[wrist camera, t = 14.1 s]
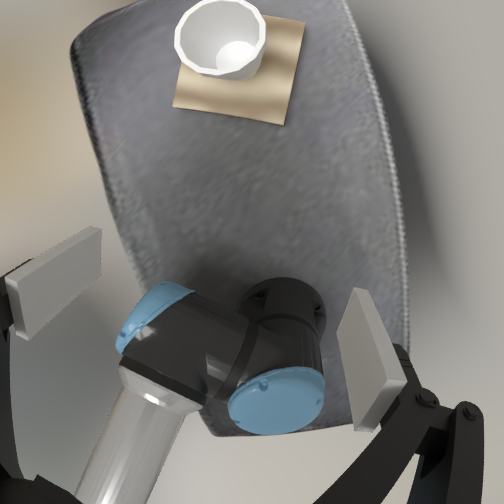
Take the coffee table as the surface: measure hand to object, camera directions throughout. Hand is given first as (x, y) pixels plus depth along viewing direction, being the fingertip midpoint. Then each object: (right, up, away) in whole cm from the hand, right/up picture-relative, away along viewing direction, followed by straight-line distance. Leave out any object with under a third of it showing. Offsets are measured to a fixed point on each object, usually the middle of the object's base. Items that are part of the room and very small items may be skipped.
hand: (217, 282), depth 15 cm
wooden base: (0, +29, +26) cm, 39 cm away
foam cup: (0, +28, +23) cm, 36 cm away
